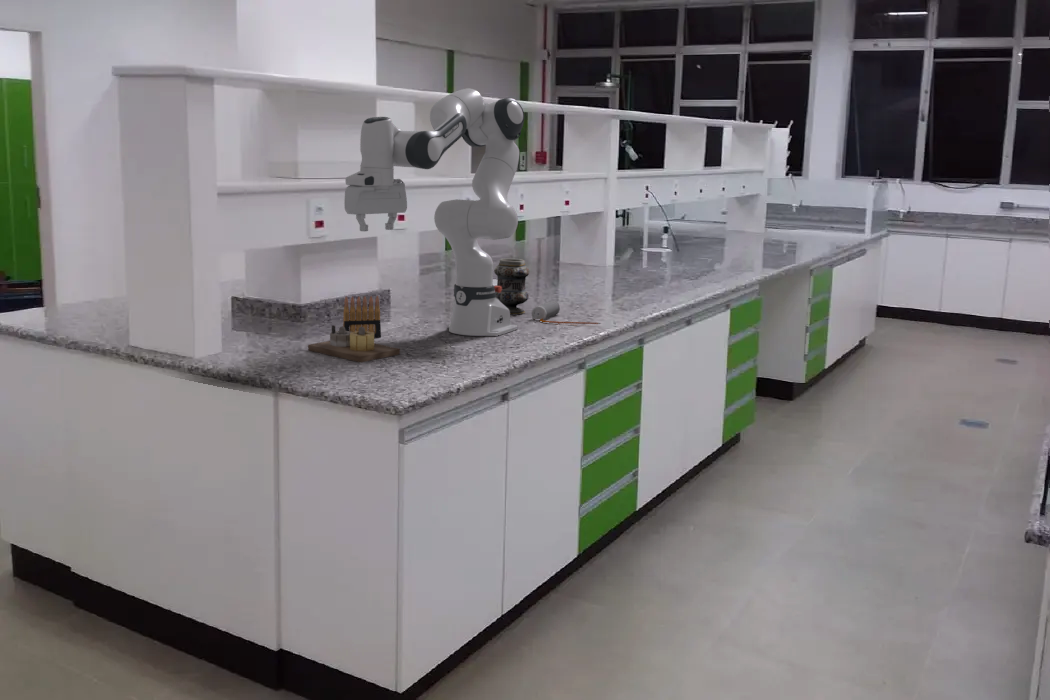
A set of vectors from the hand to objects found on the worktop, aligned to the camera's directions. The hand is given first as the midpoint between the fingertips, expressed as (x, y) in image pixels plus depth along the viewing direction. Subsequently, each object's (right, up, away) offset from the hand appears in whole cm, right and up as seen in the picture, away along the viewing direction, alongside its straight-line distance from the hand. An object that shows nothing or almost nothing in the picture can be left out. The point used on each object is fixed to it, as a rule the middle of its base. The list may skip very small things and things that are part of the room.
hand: (376, 230), depth 255 cm
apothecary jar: (+35, -20, +63) cm, 75 cm away
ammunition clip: (-6, -29, +13) cm, 32 cm away
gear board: (-5, -33, -7) cm, 34 cm away
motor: (+56, -23, +54) cm, 81 cm away
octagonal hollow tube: (-2, -32, -9) cm, 33 cm away
